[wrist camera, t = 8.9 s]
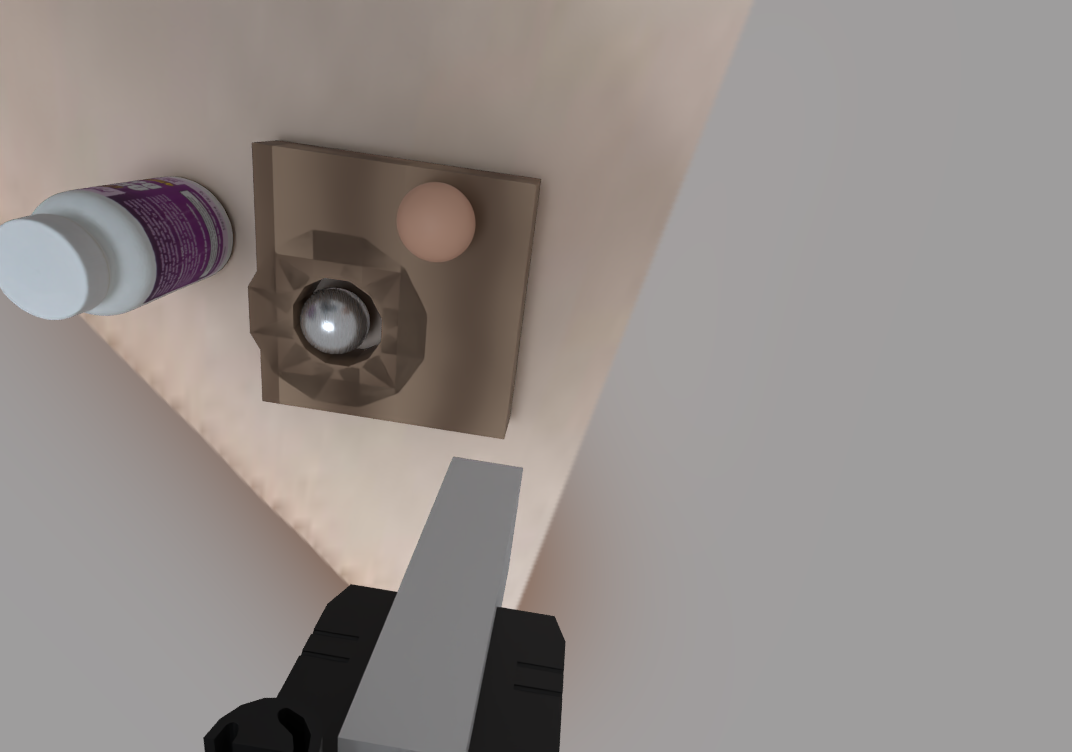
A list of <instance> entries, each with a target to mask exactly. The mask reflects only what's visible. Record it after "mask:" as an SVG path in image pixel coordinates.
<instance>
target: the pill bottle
mask: <svg viewBox="0 0 1072 752" xmlns="http://www.w3.org/2000/svg"><path fill="white" fill-rule="evenodd" d="M232 246H233V233H232V226H231V223H230V221H229V219H228V216H227V214H226V212H225V210H224V208H223V206H222V205H221V204H220V202H219V201H218V200H217V199H216V198H215V196H214V195H213V194H212V193H211V192H210V191H208V190H207V189H206V188H204V187H203V186H201V185H199V184H198V183H196V182H194V181H191V180H188V179H185V178H180V177H171V176H170V177H160V178H152V179H145V180H138V181H130V182H124V183H116V184H110V185H103V186H97V187H89V188H83V189H76V190H70V191H66V192H62V193H58V194H56V195H53V196H51V197H49V198H48V199H46V200H44V201H43V202H42V203H41V204H40V205H39V206H38V207H37V208H36V209H35V210H34V212H33V213H32V215H31V216H26V217H22V218H18V219H13V220H10V221H8V222H6V223H4V224H2V225H1V226H0V288H1V290H2V291H3V293H4V294H5V295H6V296H7V297H8V298H9V299H10V300H11V301H12V302H13V303H14V304H16V305H17V306H18V307H19V308H21V309H22V310H24V311H26V312H28V313H30V314H32V315H34V316H36V317H39V318H43V319H48V320H61V319H66V318H70V317H73V316H75V315H78V314H81V313H84V312H85V313H89V314H93V315H101V316H111V315H118V314H123V313H126V312H129V311H131V310H134V309H136V308H138V307H141V306H143V305H145V304H148V303H150V302H152V301H154V300H157V299H159V298H161V297H163V296H166V295H168V294H170V293H172V292H174V291H177V290H179V289H181V288H184V287H186V286H188V285H191V284H193V283H196V282H198V281H200V280H203V279H205V278H207V277H210V276H212V275H214V274H216V273H217V272H218V271H220V270H221V269H222V268H223V267H224V265H225V264H226V262H227V261H228V259H229V258H230V255H231V251H232Z"/></svg>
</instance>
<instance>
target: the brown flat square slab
mask: <svg viewBox="0 0 1072 752" xmlns="http://www.w3.org/2000/svg"><path fill="white" fill-rule="evenodd" d="M252 158H253V182H254V207H255V231H256V255H257V272H256V274H255V275H254V277H253V279H252V281H251V282H250V284H249V286H248V298H249V319H250V333H251V335H252V336H253V338H254V340H255V342H256V343H257V345H258V347H259V348H260V352H261V377H262V401H266V402H273V403H279V404H285V405H291V406H298V407H304V408H310V409H317V410H323V411H329V412H335V413H342V414H348V415H354V416H361V417H367V418H373V419H380V420H386V421H392V422H398V423H405V424H411V425H417V426H424V427H430V428H436V429H442V430H449V431H455V432H461V433H468V434H474V435H480V436H486V437H493V438H499V439H504V438H505V434H506V430H507V427H508V423H509V420H510V413H511V406H512V398H513V390H514V383H515V375H516V367H517V360H518V352H519V344H520V336H521V329H522V321H523V313H524V306H525V298H526V290H527V283H528V275H529V267H530V260H531V252H532V244H533V236H534V229H535V221H536V213H537V206H538V198H539V190H540V183H541V179H536V178H529V177H523V176H516V175H509V174H502V173H495V172H489V171H482V170H475V169H468V168H461V167H455V166H448V165H441V164H434V163H427V162H421V161H414V160H407V159H400V158H393V157H387V156H380V155H373V154H366V153H360V152H353V151H346V150H339V149H332V148H326V147H319V146H312V145H305V144H298V143H292V142H285V141H278V140H276V141H265V142H254V143H252ZM428 182H441V183H446V184H448V185H451V186H453V187H455V188H456V189H458V190H459V191H460V192H461V193H463V194H464V195H465V197H466V198H467V199H468V201H469V202H470V204H471V206H472V208H473V211H474V215H475V222H476V224H475V233H474V236H473V239H472V241H471V243H470V245H469V246H468V248H467V249H466V250H465V251H464V252H463V253H462V254H461V255H459V256H458V257H456V258H454V259H452V260H449V261H446V262H429V261H425V260H423V259H420V258H418V257H417V256H415V255H414V254H412V253H411V252H410V251H409V250H408V249H407V248H406V247H405V245H404V244H403V242H402V241H401V239H400V236H399V234H398V230H397V224H396V217H397V211H398V208H399V205H400V203H401V201H402V199H403V198H404V197H405V195H406V194H407V193H408V192H409V191H411V190H412V189H413V188H415V187H416V186H418V185H421V184H424V183H428ZM324 278H330V279H336V280H343V281H349V282H351V283H352V284H354V285H355V286H356V287H358V288H359V289H361V290H362V291H363V292H365V293H366V294H367V295H369V296H370V297H371V299H372V301H373V303H374V305H375V307H376V308H377V310H378V312H379V314H380V316H381V318H382V327H381V342H380V344H379V345H376V346H373V347H371V348H368V349H366V350H362V349H356V348H355V349H354V350H352V351H350V352H347V353H343V354H328V353H325V352H322V351H320V350H318V349H316V348H315V347H313V346H312V345H311V344H310V343H309V342H308V341H307V339H306V338H305V336H304V335H303V332H302V330H301V325H300V315H301V311H302V308H303V306H304V304H305V302H306V301H307V300H308V299H309V298H310V297H311V296H312V295H313V292H314V290H315V289H316V287H317V285H318V284H319V282H320V281H321V279H324Z"/></svg>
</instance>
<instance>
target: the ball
mask: <svg viewBox="0 0 1072 752" xmlns="http://www.w3.org/2000/svg"><path fill="white" fill-rule="evenodd" d="M300 325H301V330H302V332H303V335H304V336H305V338H306V339H307V341H308V342H309V343H310V344H311V345H312V346H313V347H315V348H316V349H318V350H320V351H322V352H325V353H328V354H343V353H347V352H350V351H352V350H354V349H355V348H357V347H358V346H359V345H360V344H361V343H362V342H363V341H364V339H365V338H366V336H367V334H368V331H369V326H370V317H369V313H368V310H367V308H366V306H365V304H364V303H363V301H362V300H361V299H360V298H359V297H358V296H357V295H355V294H354V293H352V292H350V291H348V290H345V289H342V288H326V289H323V290H320V291H318V292H316V293H315V294H313V295H312V296H311V297H310V298H309V299H308V300H307V301H306V302H305V304H304V306H303V308H302V311H301V315H300Z"/></svg>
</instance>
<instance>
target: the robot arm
mask: <svg viewBox="0 0 1072 752" xmlns="http://www.w3.org/2000/svg"><path fill="white" fill-rule="evenodd" d="M522 472H523V468H521V467H515V466H509V465H503V464H496V463H490V462H484V461H478V460H471V459H465V458H459V457H453V458H452V461H451V463H450V466H449V468H448V471H447V473H446V475H445V478H444V480H443V483H442V485H441V488H440V490H439V492H438V495H437V497H436V500H435V502H434V505H433V507H432V509H431V512H430V514H429V517H428V519H427V522H426V524H425V526H424V529H423V531H422V534H421V536H420V539H419V541H418V544H417V546H416V548H415V551H414V553H413V556H412V558H411V561H410V563H409V565H408V568H407V570H406V573H405V575H404V578H403V580H402V582H401V585H400V587H399V590H398V592H394V591H388V590H382V589H376V588H370V587H364V586H358V585H352V584H351V585H350V586H348V587H347V588H346V589H345V590H344V591H342V592H341V593H340V594H339V595H338V596H336V597H335V598H334V599H333V600H332V601H330V602H329V603H328V604H327V606H326V608H325V610H324V611H323V613H322V615H321V617H320V619H319V621H318V622H317V624H316V626H315V628H314V631H313V634H311V635H310V637H309V639H308V641H307V643H306V645H305V646H304V648H303V651H302V654H301V656H299V657H298V659H297V661H296V663H295V665H294V666H293V668H292V670H291V672H290V674H289V676H288V678H287V680H286V681H285V683H284V685H283V687H282V689H281V690H280V692H279V694H278V696H277V698H263V699H259V700H256V701H253V702H250V703H247V704H243V705H241V706H239V707H238V708H236V709H235V710H233V711H231V712H230V713H228V714H227V715H225V716H224V717H222V718H221V719H219V721H218V722H217V723H216V724H215V725H214V726H213V727H212V729H211V730H210V731H209V732H208V733H207V734H206V736H205V737H204V747H205V752H559V746H560V729H561V728H560V727H561V711H562V692H563V671H564V656H565V640H564V637H563V635H562V633H561V630H560V628H559V626H558V623H557V621H556V618H555V617H554V616H550V615H544V614H538V613H532V612H525V611H520V610H514V609H508V608H502V607H501V606H502V601H503V596H504V590H505V585H506V580H507V574H508V569H509V562H510V555H511V548H512V541H513V534H514V527H515V520H516V513H517V507H518V500H519V493H520V486H521V479H522Z"/></svg>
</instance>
